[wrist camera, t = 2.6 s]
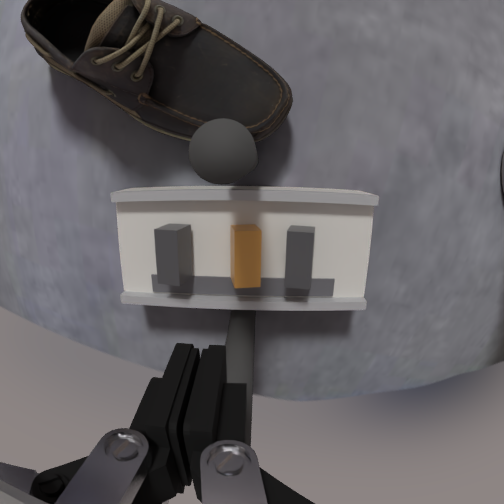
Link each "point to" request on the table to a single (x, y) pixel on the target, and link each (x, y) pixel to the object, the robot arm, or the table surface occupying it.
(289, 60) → the table surface
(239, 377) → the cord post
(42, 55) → the boat shoe
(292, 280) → the grey block
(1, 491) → the robot arm
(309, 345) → the table surface
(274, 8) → the table surface
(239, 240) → the rectangular block
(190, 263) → the grey block
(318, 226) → the breaker panel
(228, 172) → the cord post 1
